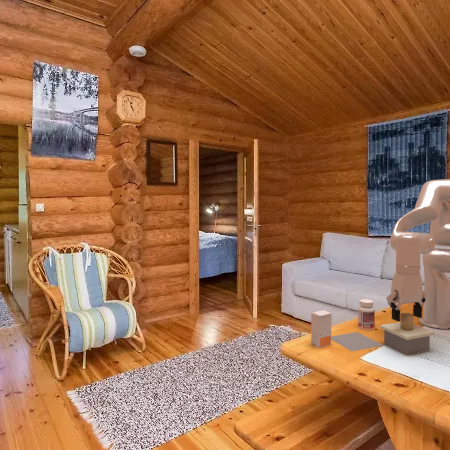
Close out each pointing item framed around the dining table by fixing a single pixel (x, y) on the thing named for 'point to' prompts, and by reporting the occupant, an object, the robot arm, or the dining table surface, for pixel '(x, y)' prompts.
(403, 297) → the robot arm
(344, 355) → the dining table surface
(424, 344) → the open grey box
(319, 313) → the skincare box
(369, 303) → the pill bottle
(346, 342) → the mat
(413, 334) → the lid
